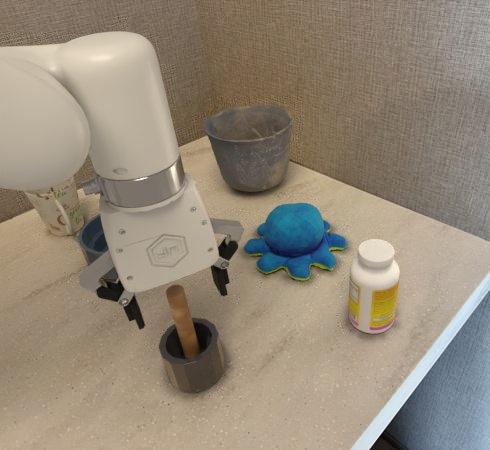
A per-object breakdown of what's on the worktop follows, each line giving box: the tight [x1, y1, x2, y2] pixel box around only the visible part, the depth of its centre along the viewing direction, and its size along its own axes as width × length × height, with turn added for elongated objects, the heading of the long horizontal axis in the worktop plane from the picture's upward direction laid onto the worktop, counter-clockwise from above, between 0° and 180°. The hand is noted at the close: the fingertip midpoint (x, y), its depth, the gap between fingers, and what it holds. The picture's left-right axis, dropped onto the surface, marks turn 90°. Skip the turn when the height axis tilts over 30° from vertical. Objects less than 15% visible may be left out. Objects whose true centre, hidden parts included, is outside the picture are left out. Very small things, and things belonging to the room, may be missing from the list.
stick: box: [165, 284, 201, 359], centre depth 54 cm, size 2×2×14 cm
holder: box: [158, 317, 225, 394], centre depth 57 cm, size 7×7×6 cm
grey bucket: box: [202, 104, 295, 193], centre depth 91 cm, size 18×18×15 cm
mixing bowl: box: [77, 213, 119, 281], centre depth 77 cm, size 14×14×6 cm
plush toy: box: [243, 202, 348, 282], centre depth 76 cm, size 17×17×8 cm
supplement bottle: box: [348, 238, 401, 335], centre depth 61 cm, size 7×7×13 cm
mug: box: [23, 175, 85, 237], centre depth 82 cm, size 8×13×10 cm, turn 40°
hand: (181, 304), depth 51 cm, fingers open, 9 cm apart
